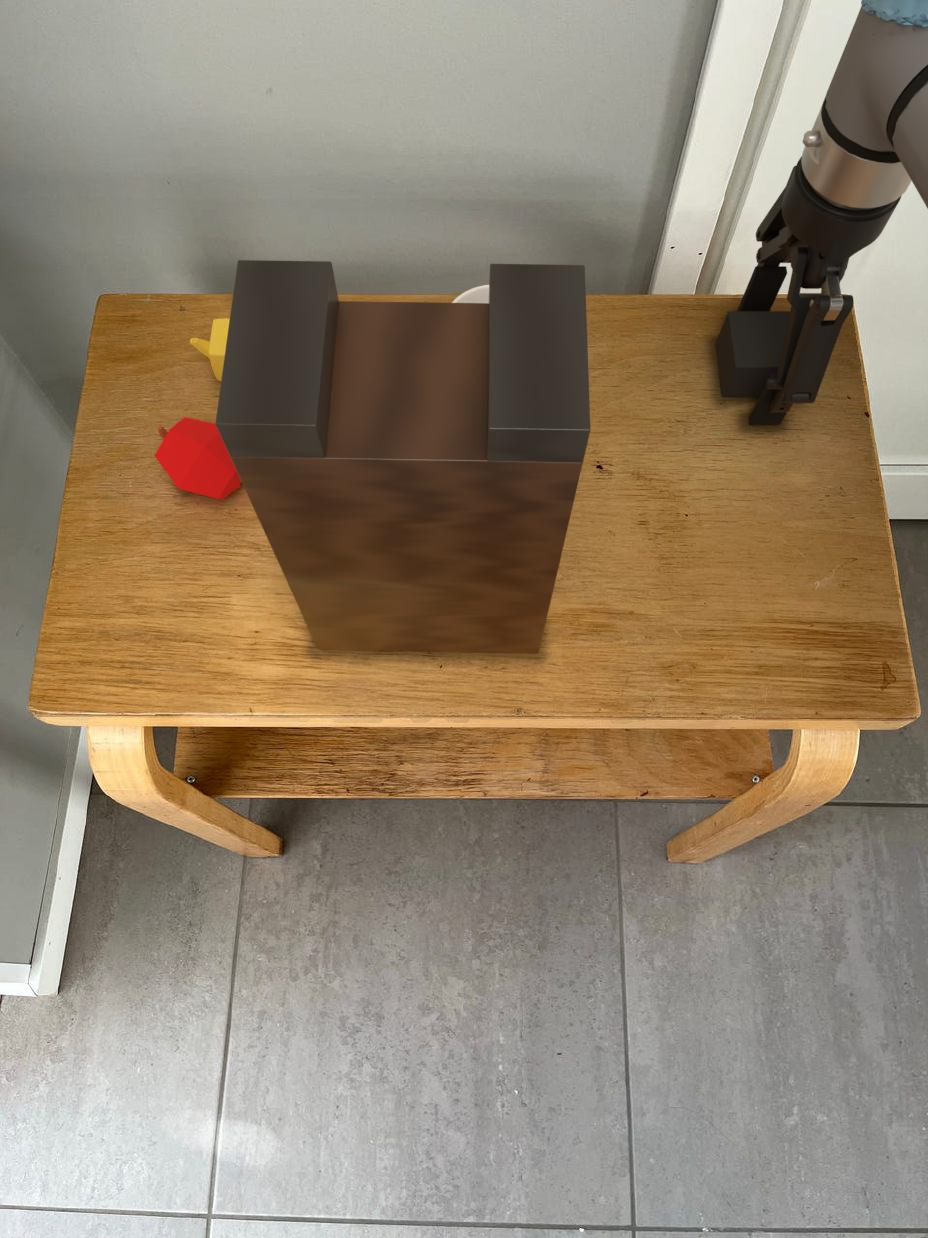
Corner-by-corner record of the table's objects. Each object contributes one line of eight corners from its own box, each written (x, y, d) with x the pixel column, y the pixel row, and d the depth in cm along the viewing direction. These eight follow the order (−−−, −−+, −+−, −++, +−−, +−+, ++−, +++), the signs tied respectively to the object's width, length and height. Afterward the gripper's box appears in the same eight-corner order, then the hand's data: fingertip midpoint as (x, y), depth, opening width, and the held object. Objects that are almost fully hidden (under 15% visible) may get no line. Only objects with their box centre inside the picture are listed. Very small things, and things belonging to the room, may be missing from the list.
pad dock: (537, 543, 78) (584, 264, 47) (538, 654, 74) (590, 430, 44) (326, 539, 78) (237, 258, 47) (317, 650, 75) (214, 424, 44)
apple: (263, 444, 75) (179, 386, 74) (215, 512, 74) (130, 454, 73) (264, 459, 82) (187, 405, 81) (220, 521, 81) (142, 468, 80)
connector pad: (789, 343, 85) (806, 310, 81) (798, 397, 83) (816, 366, 79) (715, 343, 85) (728, 310, 81) (721, 397, 83) (735, 367, 79)
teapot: (197, 399, 83) (181, 363, 78) (205, 346, 85) (189, 309, 80) (285, 400, 83) (274, 365, 78) (290, 347, 85) (280, 310, 80)
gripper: (776, 55, 68) (703, 269, 88) (821, 308, 59) (729, 478, 80) (878, 55, 68) (781, 268, 88) (937, 307, 59) (815, 478, 80)
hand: (756, 368), depth 84 cm, fingers open, 10 cm apart
